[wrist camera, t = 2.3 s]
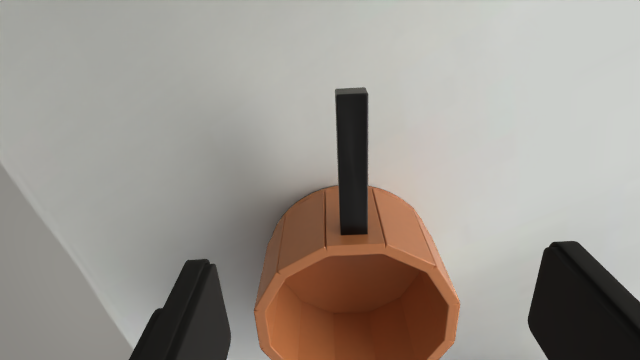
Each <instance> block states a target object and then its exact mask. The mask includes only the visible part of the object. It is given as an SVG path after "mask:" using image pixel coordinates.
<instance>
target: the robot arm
mask: <svg viewBox="0 0 640 360" xmlns="http://www.w3.org/2000/svg"><path fill="white" fill-rule="evenodd" d="M528 325H529V328H530V331H531V333H532V334H533V336H534V337H535V339H536V341H537V342H538V344H539V345H540V347H541V349H542V350H543V352H544V353H545V355H546V357H547V358H548V360H640V302H639V301H638V300H637V299H636V298H635V297H634V296H633V295H632V294H631V293H630V292H629V291H628V290H627V289H626V288H625V287H623V286H622V285H621V284H620V283H619V282H618V281H617V280H616V279H615V278H614V277H613V276H612V275H611V274H610V273H609V272H608V271H607V270H606V269H605V268H604V267H603V266H602V265H601V264H600V263H599V262H598V261H597V260H596V259H595V258H594V257H593V256H592V255H591V254H590V253H589V252H587V251H586V250H585V249H584V248H583V247H582V246H581V245H580V244H579V243H578V242H576V241H564V242H553V243H551V244H550V246H549V247H548V248H545V250H544V252H543V256H542V260H541V265H540V269H539V273H538V277H537V282H536V286H535V290H534V294H533V299H532V303H531V307H530V311H529V316H528ZM230 341H231V332H230V327H229V322H228V318H227V313H226V309H225V304H224V300H223V295H222V291H221V286H220V281H219V277H218V272H217V268H216V265H215V264H210V262H209V260H207V259H200V260H188V261H186V263H185V264H184V266H183V268H182V270H181V273H180V275H179V277H178V279H177V281H176V283H175V285H174V287H173V289H172V291H171V293H170V295H169V297H168V299H167V301H166V303H165V305H164V307H163V308H158V309H157V310H155V311H154V313H153V314H152V316H151V318H150V320H149V322H148V324H147V326H146V328H145V330H144V331H143V333H142V335H141V337H140V339H139V341H138V343H137V345H136V347H135V349H134V351H133V353H132V355H131V357H130V359H129V360H226V359H227V355H228V351H229V347H230Z"/></svg>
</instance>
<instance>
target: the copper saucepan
mask: <svg viewBox="0 0 640 360" xmlns="http://www.w3.org/2000/svg"><path fill="white" fill-rule="evenodd" d="M335 102H336V131H337V159H338V186H333V187H329V188H325V189H322V190H319V191H316V192H314V193H312V194H310V195H308V196H306V197H304V198H302V199H301V200H299V201H298V202H296V203H295V204H294V205H293V206H292V207H291V208H289V209H288V210H287V212H286V213H285V214H284V215H283V216H282V218H281V219H280V221H279V222H278V224H277V226H276V228H275V230H274V232H273V235H272V238H271V239H270V241H269V243H268V246H267V251H266V255H265V260H264V265H263V270H262V274H261V279H260V284H259V289H258V294H257V298H256V303H255V308H254V315H255V321H256V327H257V333H258V339H259V344H260V348H261V350H262V351H263V352H264V353H265V354H266V355H267V356H268V357H269V358H270V359H271V360H439V359H440V358H441V357H442V355H443V354H444V353H445V352H446V351H447V350H448V349H449V348H450V347H451V346H452V345H453V344H454V341H455V337H456V330H457V323H458V316H459V309H460V300H459V298H458V296H457V294H456V291H455V289H454V287H453V284H452V282H451V280H450V278H449V275H448V273H447V271H446V269H445V266H444V264H443V262H442V259H441V257H440V255H439V253H438V250H437V248H436V246H435V243H434V241H433V239H432V237H431V235H430V234H429V232H428V231H427V229H426V227H425V225H424V223H423V222H422V220H421V218H420V217H419V215H418V214H417V213H416V211H415V210H414V208H413V207H411V206H410V205H409V204H408V203H406V202H405V201H404V200H402V199H401V198H399V197H397V196H396V195H394V194H392V193H390V192H387V191H385V190H382V189H379V188H375V187H371V186H368V93H367V90H366V88H345V89H336V90H335Z"/></svg>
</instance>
